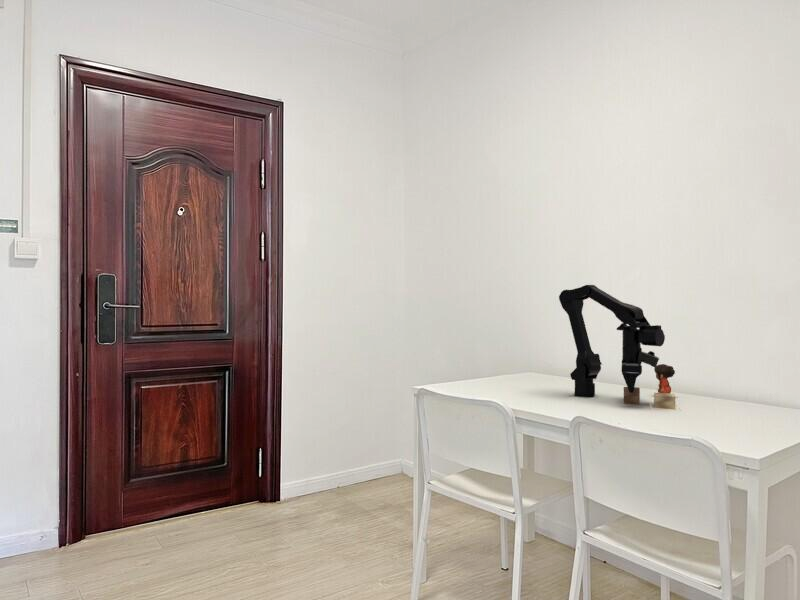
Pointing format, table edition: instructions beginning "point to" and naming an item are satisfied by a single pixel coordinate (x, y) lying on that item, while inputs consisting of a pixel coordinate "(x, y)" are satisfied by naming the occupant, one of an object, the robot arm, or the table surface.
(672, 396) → the oak base block
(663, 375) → the figurine
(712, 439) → the table surface
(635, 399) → the walnut cube
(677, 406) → the mat
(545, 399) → the table surface
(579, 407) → the table surface
